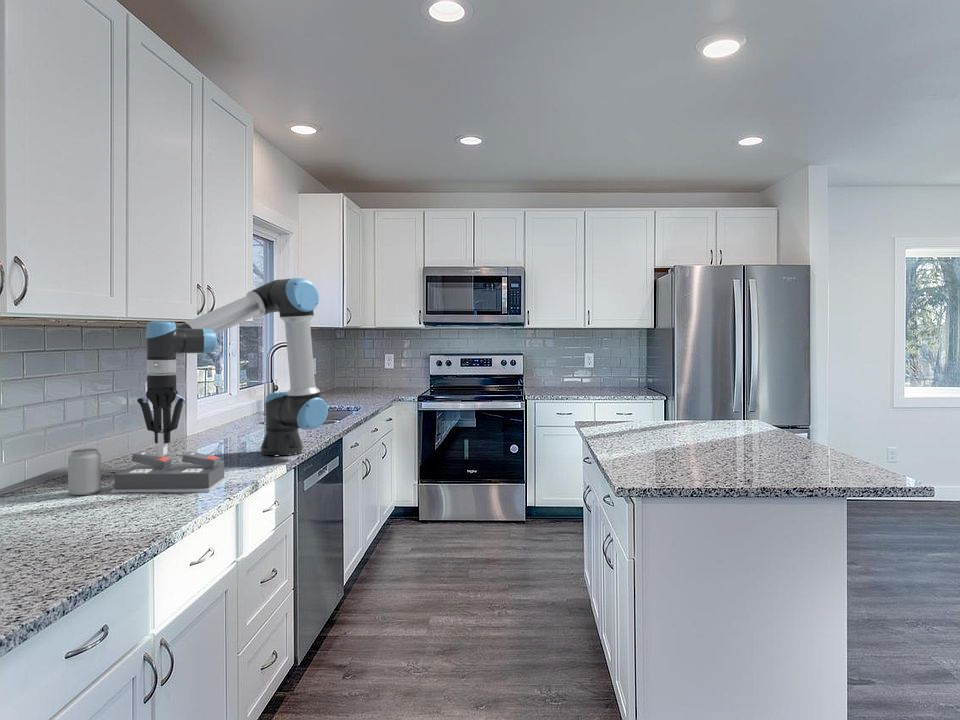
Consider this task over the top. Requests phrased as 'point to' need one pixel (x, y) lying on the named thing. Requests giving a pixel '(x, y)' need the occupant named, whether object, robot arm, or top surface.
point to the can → (84, 472)
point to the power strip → (169, 478)
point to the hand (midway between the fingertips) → (162, 454)
